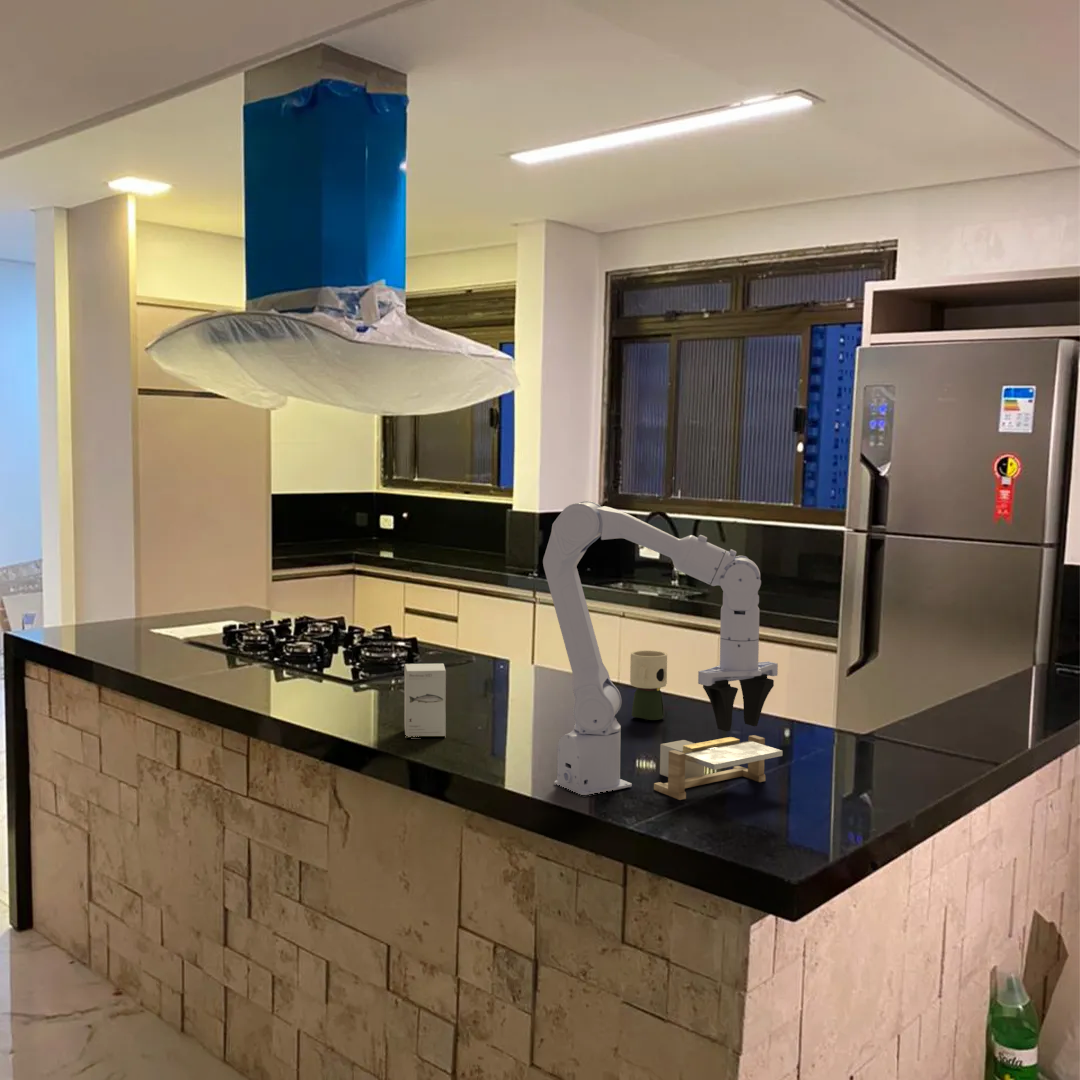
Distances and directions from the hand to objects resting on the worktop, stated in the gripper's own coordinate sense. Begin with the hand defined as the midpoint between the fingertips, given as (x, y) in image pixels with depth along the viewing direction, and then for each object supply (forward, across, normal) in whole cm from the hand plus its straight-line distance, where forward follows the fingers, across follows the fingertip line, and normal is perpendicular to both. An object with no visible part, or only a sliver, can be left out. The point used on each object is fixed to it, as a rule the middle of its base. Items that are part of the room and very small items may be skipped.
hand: (737, 727), depth 164 cm
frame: (+10, 0, +6) cm, 12 cm away
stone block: (+10, 0, +12) cm, 16 cm away
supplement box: (+11, -23, +57) cm, 63 cm away
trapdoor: (+5, 0, +2) cm, 6 cm away
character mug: (+11, +19, +44) cm, 49 cm away
